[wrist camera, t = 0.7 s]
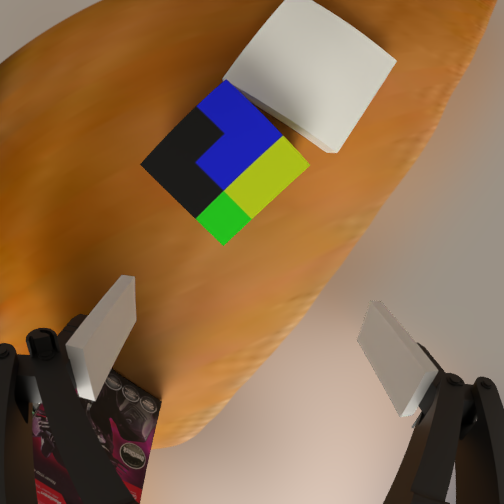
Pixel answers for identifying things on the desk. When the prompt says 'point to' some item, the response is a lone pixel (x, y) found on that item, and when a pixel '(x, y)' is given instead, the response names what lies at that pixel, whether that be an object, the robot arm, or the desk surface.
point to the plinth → (311, 72)
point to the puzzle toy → (224, 162)
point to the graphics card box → (110, 436)
